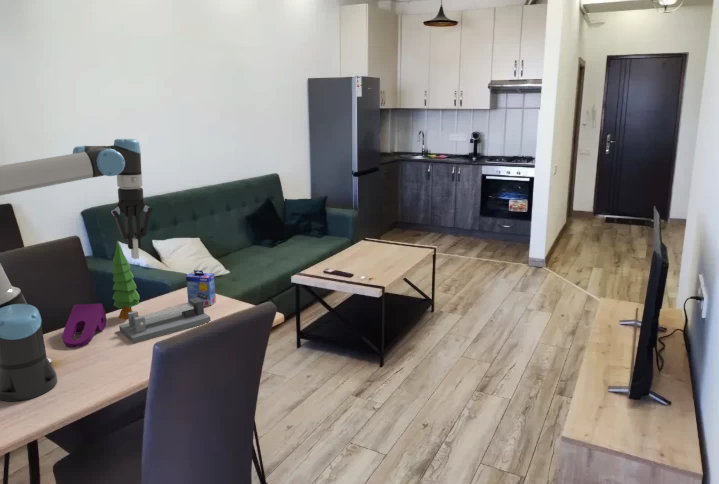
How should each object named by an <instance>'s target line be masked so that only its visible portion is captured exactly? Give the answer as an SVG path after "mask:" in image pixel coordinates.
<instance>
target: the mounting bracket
mask: <svg viewBox="0 0 719 484" xmlns="http://www.w3.org/2000/svg"><path fill="white" fill-rule="evenodd" d="M106 315H107V314H106V311H105V308H104V306H103V303H83V304H82V303H81V304H80V303H79V304H73V306H72V309H71V312H70V313H69V317H68V319H67V322H66V324H65V326H64V329H63V331H62V334H61V339H62V341H63V343H64V345H65V346H66V347H68V348H82V347H84V346H86V345H88V344H89V343H90V342H91V341H92V340H93V339H94V337H95V336H94V335H95V333H97V332H103V331H104V330H105V329H106V326H107V316H106ZM76 333H81V336H80V337H79V338H78V339H76V340H75V336H76Z"/></svg>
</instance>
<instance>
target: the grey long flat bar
mask: <svg viewBox="0 0 719 484" xmlns="http://www.w3.org/2000/svg"><path fill="white" fill-rule="evenodd" d="M191 309H194V308H193V306H192V305H191V304H189V303H184V304H181V305H178V306H177V305H176V306H173V307H169V308H166V309H162V310H157V311H154V312H150V313H145V314H142V315H138V317H141V316H144V317H145V322H146V321H150V320H154V319H157V318H161V317H165V316H168V315H172V314H176V313H180V312H183V311H187V310H191ZM134 318H137V317H136V316H134V317H133V318H132V320H133V321H134Z"/></svg>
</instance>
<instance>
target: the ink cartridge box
mask: <svg viewBox="0 0 719 484" xmlns="http://www.w3.org/2000/svg"><path fill="white" fill-rule="evenodd" d="M185 281H186V291H187V302H188V303H189V304H191V305H192V303H191V302H189V299H193V298H199V299H201V300H202V301H203V305H211V306H213V305H214V304H215V303H216V302H217V297H216V285H215V274H214V273H208V272H204V271H203V270H198V269H197V270H196V269H194V270H193V272H190V273H188V274H187V275H186V276H185ZM188 303H187V304H188ZM213 303H214V304H213ZM212 304H213V305H212Z"/></svg>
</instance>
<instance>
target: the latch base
mask: <svg viewBox="0 0 719 484" xmlns="http://www.w3.org/2000/svg"><path fill="white" fill-rule="evenodd" d="M189 302H191V303H192V306H193V308H194V309H191V310H187V311H183V312H180V313H176V314H172V315H168V316H165V317H161V318H157V319H154V320H150V321H146V322H145V317H144V316H142V315H140V316H141V317H138V316H139V311H138V310H135V311H133V310H132V311H133V312H129V313H128V319H127V320H128V322H127V323H124V324H123V323H122V324H120V325H119V326H118V328H119V332H121V333H122V334H123V335H124V336H125V337H126V338H127V339H128V340H129V341H130V342H131V343H132V344H136V343H140V342H143V341H147V340H150V339H154V338H157V337H161V336H165V335H169V334H172V333H176V332H179V331H182V330H187V329H189V328H193V327H197V326H200V325H205V324H208V323H210V322H209V321H212V320H211V316H210V315H208V313H207V314H206V313H205V309H204V308H205V307H204V306H203V301H202V300H201V299H199V298H193V299H189ZM134 316H136V317H137V318H134V321H133V320H132V318H133V317H134ZM207 322H208V323H207ZM204 323H205V324H204Z"/></svg>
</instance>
